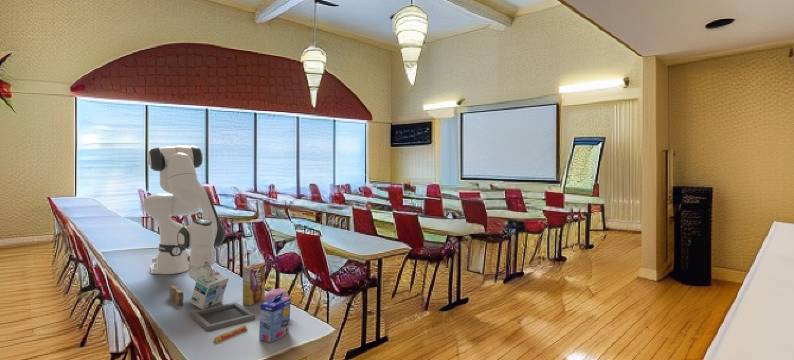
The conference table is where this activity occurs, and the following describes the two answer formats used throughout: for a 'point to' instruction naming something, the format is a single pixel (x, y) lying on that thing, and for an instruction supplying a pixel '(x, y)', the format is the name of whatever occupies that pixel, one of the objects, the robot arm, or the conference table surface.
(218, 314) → the grey shallow rectangular tray
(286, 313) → the ink cartridge box
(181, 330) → the conference table surface
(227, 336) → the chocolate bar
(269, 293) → the cupcake
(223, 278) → the light bulb box
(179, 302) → the wooden blocks
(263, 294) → the candy box
